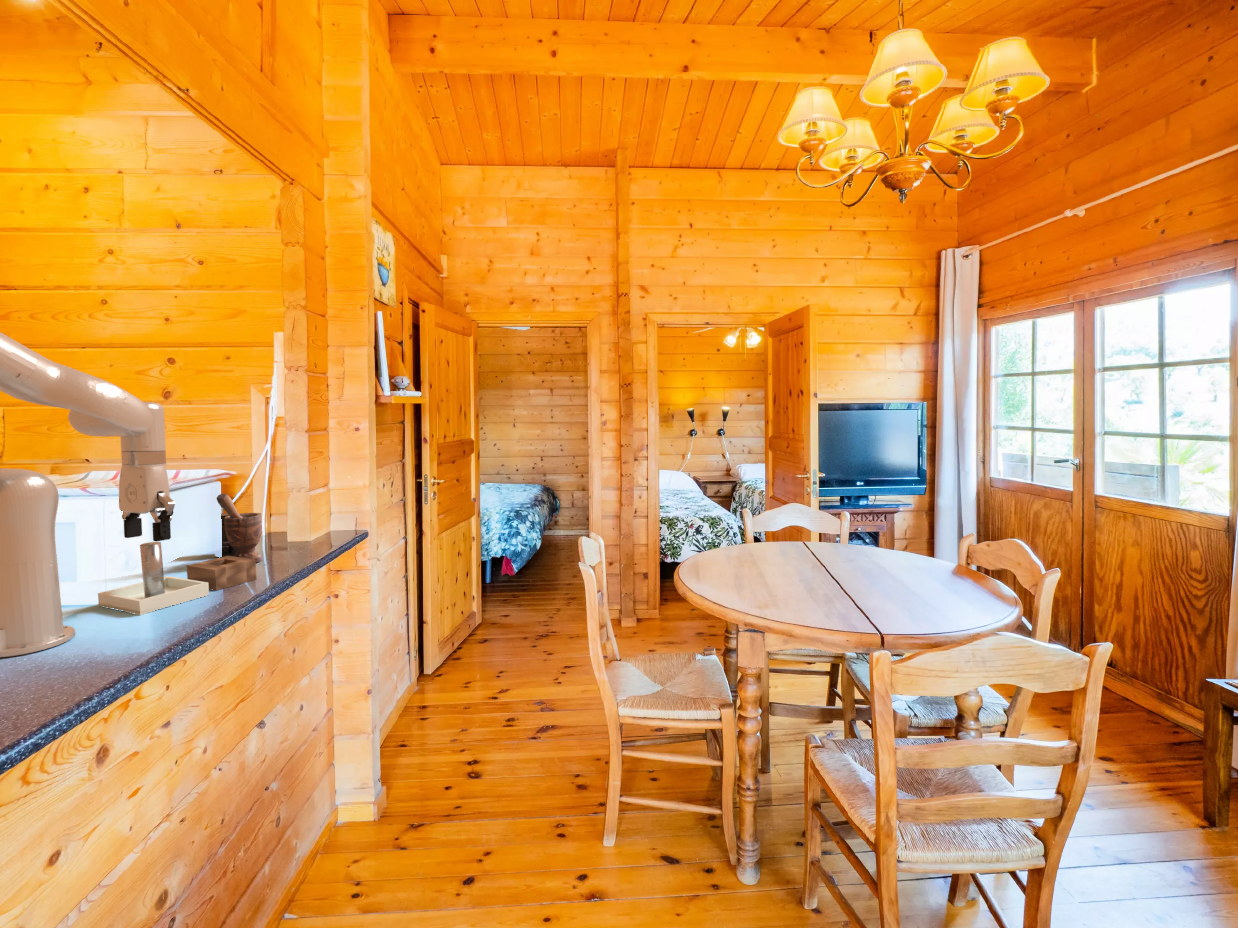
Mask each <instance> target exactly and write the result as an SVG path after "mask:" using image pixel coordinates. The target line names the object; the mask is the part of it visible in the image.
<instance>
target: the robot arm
mask: <svg viewBox="0 0 1238 928" xmlns="http://www.w3.org/2000/svg"><path fill="white" fill-rule="evenodd" d="M0 392H1V393H4V394H6V395H8V396H10V397H13V398H14V399H17V400H21V401H24V402H29V403H31V404H35V405H40V406H46V407H47V406H48V407H55V408H60V409H64V410H65V409H66V410H69V411H68V416H67V417H68V422H69V425H71V427H72V428H73V429H74V430H75V431H76V432H78V433H80V434H83V435H86V436H90V437H101V438H103V437H120V451H121V452H120V457H121V467H120V471H119V472H120V474H119V480H118V498H119V502H118V509H119V510H121V511H123V514H121V518H122V520H123V534H124V535H123V537H124V538H125V539H130V538H137V537H141V536H142V535H143V528H142V527H143V525H142V523H143V522H142V517H140V516H141V514H143V515H144V514H145V515H146V514H148V513H150V515H151V517H152V519H153V520H154V522H152V524H151V525H152V540H153V541H152V542H162V541H167V540H170V539H171V538H172V536H171V535H172V534H171V521H173V520H172V519H173V517H172V516H173V515H174V510H175V506H176V502H175V500H173V499H172V498H171V496H170V495H171V494H170V486H169V484H170V483H169V478H168V472H167V468H166V466H167V449H166V444H167V443H166V423H165V422H166V421H165V420H166V419H165V409H164V406H163V405H162V404H161V403H158V402H154V401H153V402H152V401H142V400H141V399H140V398H138V397H137V396H136V395H133V394H132V393H130V392H129V391H127V390H125V389H123V388H121V387H119V386H118V385H116V384H114V383H112V382H109V381H107V380H105V379H102V378H100V377H98V376H94V375H92V374H89V373H85V372H84V371H80V370H78V369H76V368H75V369H74V367H73V368H72V367H70V366H67V365H64V364H61V363H57V362H55V361H52V360H51V359H48V358H47V357H45V356H43V355H41V354H40V353H38V352H36V351H35V350H33V349H30V348H29V347H27V346H25V345H23V344H22V343H20V342H18V341H16V340H15V339H13V338H12V337H9V335H6V334H4V333H2V332H1V331H0ZM59 498H60V497H59V490H58V487H57V486H56V484H55V483H54V482H53V480H52V479H50V478H49V477H48V476H47V475H45V474H43V473H42V472H39V471H34V470H31V469H25V468H3V467H2V468H0V658H7V657H8V658H10V657H15V656H22V655H26V654H31V653H35V652H39V651H43V650H48V649H51V648H53V647H57V646H60V645H62V644H64V643H66V642H68V641H71V640H72V639H73V638H74V637H75V636H76V629H75V628H74V627H73V626H71V625H64V622H63V610H62V598H61V590H60V589H61V587H60V586H61V585H60V576H59V566H58V565H59V564H58V557H57V556H58V555H57V547H56V545H57V543H56V519H57V513H58V507H59ZM121 511H120V512H121Z"/></svg>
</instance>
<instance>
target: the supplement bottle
mask: <svg viewBox="0 0 1238 928" xmlns="http://www.w3.org/2000/svg"><path fill="white" fill-rule="evenodd" d="M220 514H221V519H222V557H225V556H234V555H235V554H236V549H235V548H234V547H232V546H231V545H230V544H229V541H228V539H227V536H226V532H225V524H224V523H225V520H224V518H225V517H226V516H229V515H228V513H227V512H224V513H220Z"/></svg>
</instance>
